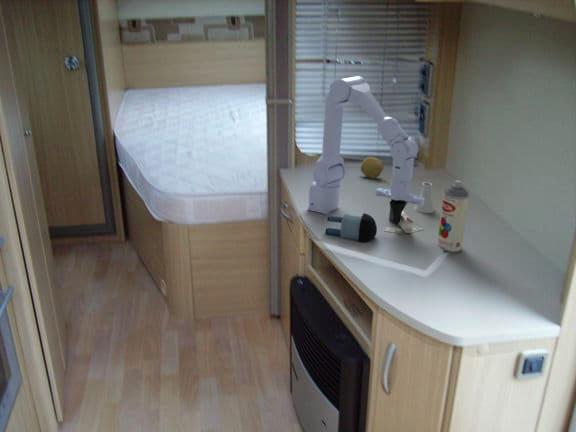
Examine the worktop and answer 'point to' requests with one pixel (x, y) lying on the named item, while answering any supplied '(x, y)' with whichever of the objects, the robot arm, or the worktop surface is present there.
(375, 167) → the potato
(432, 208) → the flask
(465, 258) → the worktop surface
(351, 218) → the toy
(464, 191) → the aerosol can
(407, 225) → the peg
